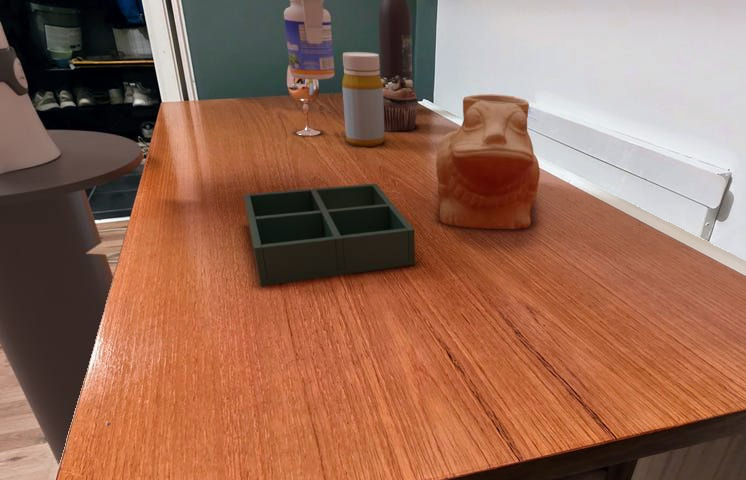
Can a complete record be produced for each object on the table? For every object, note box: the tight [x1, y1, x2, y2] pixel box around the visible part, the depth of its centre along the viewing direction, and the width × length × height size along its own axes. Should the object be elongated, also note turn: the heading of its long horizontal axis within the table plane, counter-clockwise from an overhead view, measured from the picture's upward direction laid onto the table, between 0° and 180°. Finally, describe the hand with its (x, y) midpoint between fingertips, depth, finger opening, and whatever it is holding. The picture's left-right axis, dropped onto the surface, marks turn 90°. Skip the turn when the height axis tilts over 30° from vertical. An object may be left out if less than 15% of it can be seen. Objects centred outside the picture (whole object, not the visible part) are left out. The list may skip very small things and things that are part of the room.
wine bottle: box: [378, 0, 413, 81], centre depth 120 cm, size 7×7×30 cm
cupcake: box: [380, 75, 419, 132], centre depth 111 cm, size 10×10×10 cm
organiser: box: [242, 183, 416, 287], centre depth 61 cm, size 16×16×4 cm
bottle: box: [341, 51, 385, 147], centre depth 98 cm, size 7×7×15 cm
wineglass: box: [286, 64, 321, 137], centre depth 102 cm, size 6×6×12 cm
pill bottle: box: [283, 0, 335, 80], centre depth 66 cm, size 5×5×10 cm
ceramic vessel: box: [435, 93, 541, 230], centre depth 72 cm, size 14×26×15 cm, turn 179°
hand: (309, 40), depth 67 cm, fingers closed on pill bottle, 5 cm apart
